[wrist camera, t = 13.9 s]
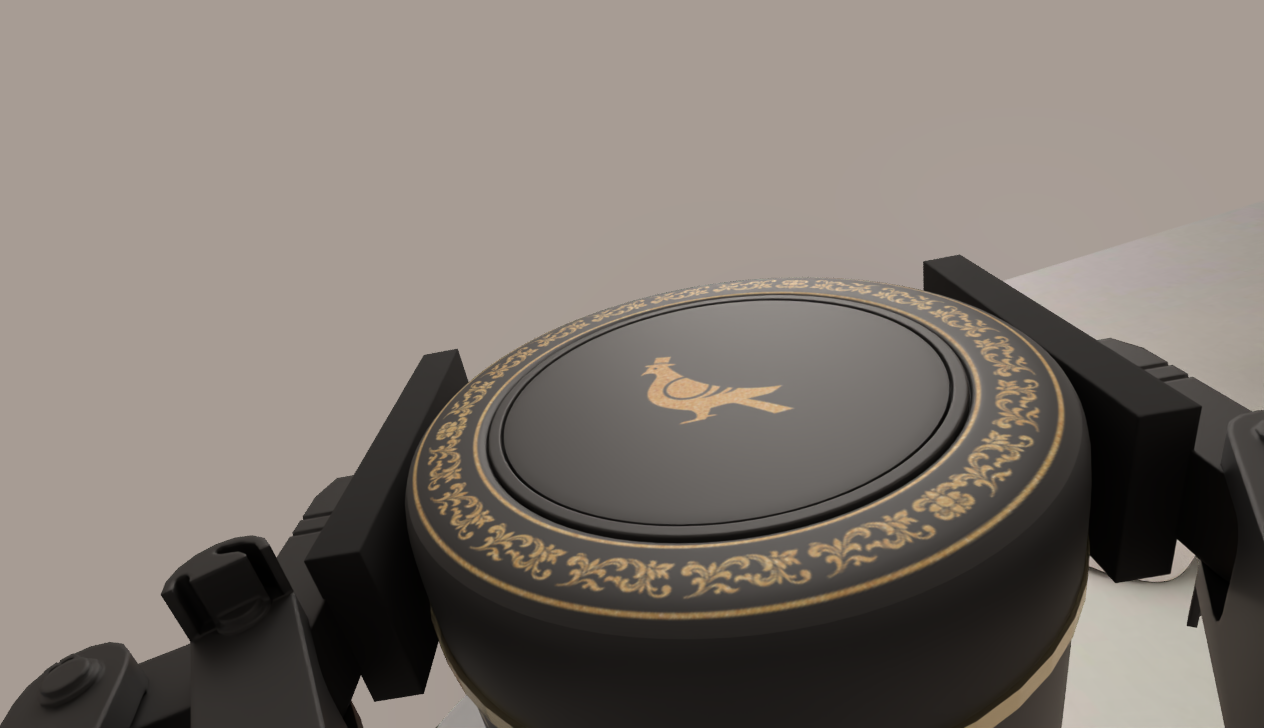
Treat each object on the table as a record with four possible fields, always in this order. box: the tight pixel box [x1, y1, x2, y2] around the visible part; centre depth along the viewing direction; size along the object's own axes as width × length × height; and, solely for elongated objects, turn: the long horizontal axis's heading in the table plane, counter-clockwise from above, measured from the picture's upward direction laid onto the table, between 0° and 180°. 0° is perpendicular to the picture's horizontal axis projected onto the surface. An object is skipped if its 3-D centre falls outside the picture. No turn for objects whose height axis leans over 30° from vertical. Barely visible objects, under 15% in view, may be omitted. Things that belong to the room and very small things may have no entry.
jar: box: [405, 277, 1092, 728], centre depth 12 cm, size 10×10×8 cm
